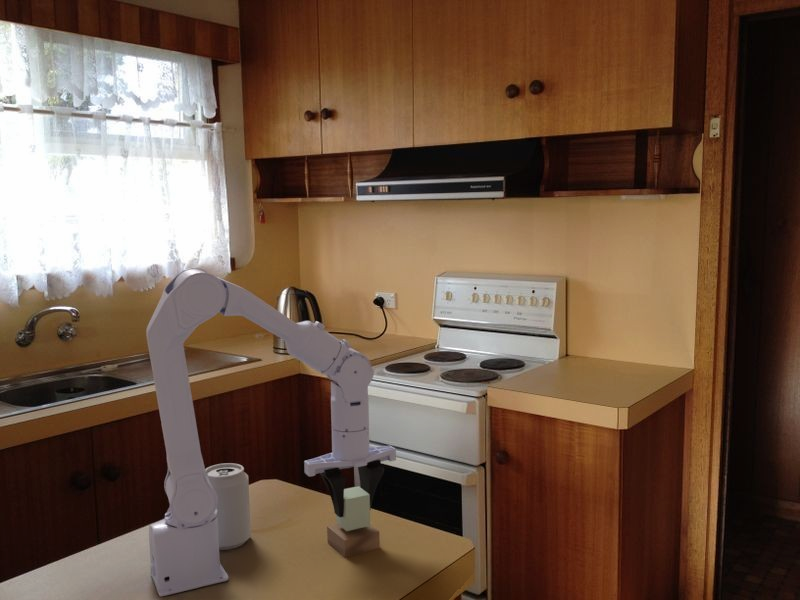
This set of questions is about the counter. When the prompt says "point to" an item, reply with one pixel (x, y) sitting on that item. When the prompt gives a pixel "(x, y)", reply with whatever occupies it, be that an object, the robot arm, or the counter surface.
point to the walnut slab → (353, 539)
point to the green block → (355, 509)
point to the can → (231, 503)
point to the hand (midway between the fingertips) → (352, 511)
